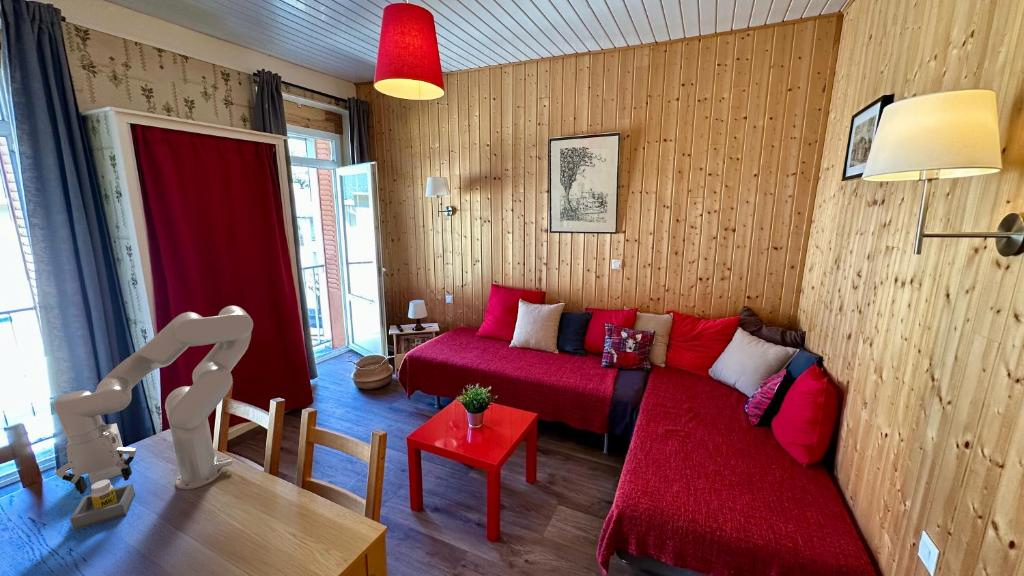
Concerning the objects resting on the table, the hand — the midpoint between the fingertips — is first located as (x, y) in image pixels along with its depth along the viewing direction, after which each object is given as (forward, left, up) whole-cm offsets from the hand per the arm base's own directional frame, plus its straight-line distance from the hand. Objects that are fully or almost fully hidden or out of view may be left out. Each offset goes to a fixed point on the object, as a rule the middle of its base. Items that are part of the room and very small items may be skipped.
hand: (106, 484), depth 121 cm
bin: (+1, 0, -9) cm, 9 cm away
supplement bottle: (+1, 0, -8) cm, 8 cm away
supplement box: (+6, -23, -9) cm, 25 cm away
